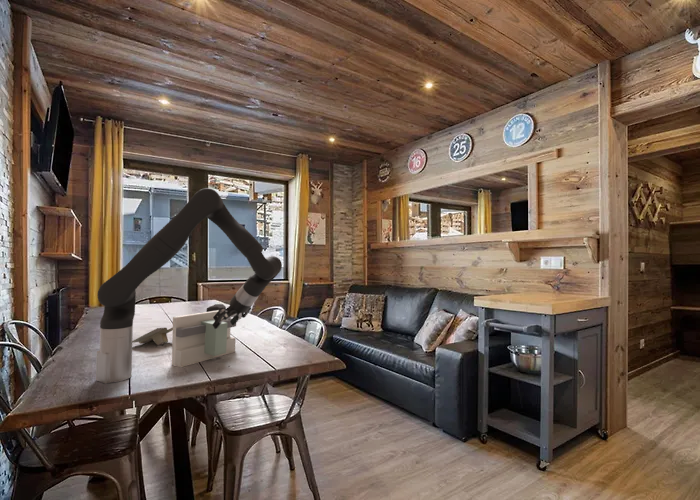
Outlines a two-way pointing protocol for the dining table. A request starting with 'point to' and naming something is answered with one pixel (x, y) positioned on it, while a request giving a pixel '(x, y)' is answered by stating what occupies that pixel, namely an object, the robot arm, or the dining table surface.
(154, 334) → the olive slanted plate stand
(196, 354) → the cleat board
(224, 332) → the sage cabinet
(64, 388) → the dining table surface
